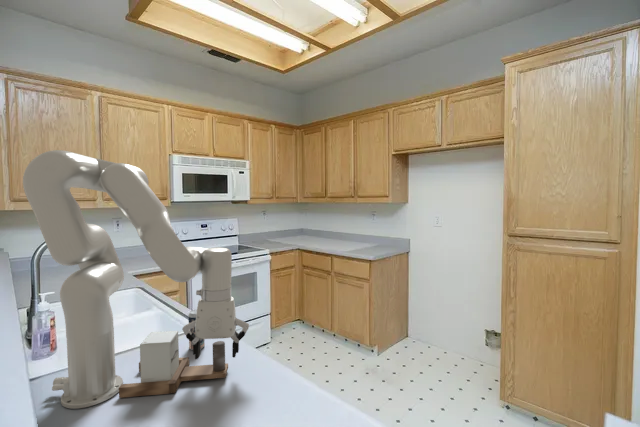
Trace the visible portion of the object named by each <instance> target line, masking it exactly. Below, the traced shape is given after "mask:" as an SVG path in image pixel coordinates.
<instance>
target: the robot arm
mask: <svg viewBox="0 0 640 427" xmlns="http://www.w3.org/2000/svg"><path fill="white" fill-rule="evenodd" d="M149 183H150V182H149V178H148V175H147V174H146V172H145V171H144V170H142V169H141V168H140V167H138V166H135V165H131V164H128V163H123V162H114V161H110V160H109V161H108V160H106V159H105V160H104V159H101V158H96V157H91V156H89V155H88V156H87V155H84V154H82V153H81V154H80V153H77V152H72V151H68V150H64V149H63V150H62V149H61V150H59V149H58V150H57V149H56V150H55V149H54V150H53V149H52V150H48V151H45V152H42V153H40V154H38V155H36V157H34V158H33V159H32V160H31V161H30V162H29V163H28V165H27V166H26V167H25V170H24V172H23V176H22V188H23V191H24V194H25V196H26V199H27V201H28V203H29V206H30V208H31V210H32V212H33V213H34V215H35V216H34V217H35V218H36V222H37V224H38V227H39V229H40V231H41V234H42V236H43V240H44V242H45V245H46V247H47V249H48V251H49V254H50V257H52V259H53V260H54V261H55V262H56V263H57V264H59V265H60V266H61V265H62V266H66V267H67V266H68V267H69V266H77V265H78V267H79V269H78V270H76V271H75V272H73V273H71V274H70V275H69V276H67V278H65V280H64V282H63V283H62V285H61V287H60V292H59V299H60V304H61V308H62V312H63V315H64V321H65V322H64V323H65V324H64V325H65V338H66V355H67V357H66V358H67V374H68V375H67V377H65V376H62V377H61V376H59V377H55V378H54V379H53V382H52V385H53V386H52V387H51V391H54V392H55V391H60V390H61V391H63V393H62V395H61V396H60V404H61V405H62V407H64V408H67V409H72V410H73V409H74V410H76V409H84V408H90V407H93V406H96V405H99V404H101V403H103V402H106V401H107V400H109V399H111V398H112V397H115V395H116V394H119V387H120V386H121V384H124V381H123V380H124V379H123V378H122V377H121V376H120V375H117V374H116V352H115V348H116V347H115V326H114V316H113V315H114V314H113V310H112V307H111V303H110V297H111V296H112V295H114V294H115V293H116V292H117V291H118V290H119V289H120V288H121V287H122V285H123V283H124V280H125V275H124V270H123V266H122V263H121V261H120V258H119V256H118V254H117V250H116V249H115V246H114V244H113V240H112V238H111V236H110V235H109V233H108V232H107V231H106V230H105V228H103V227H101V226H100V225H97V224H94V223H87V222H86V220H85V218H84V215H83V212H82V209H81V207H80V205H79V203H78V201H77V200H76V199H75V197H74V195H73V194H72V193H71V188H76V189H77V188H78V189H86V190H91V191H92V190H93V191H97V192H102V193H106V194H107V195H108V196H109V198H111V201H112V202H114V204H115V205H116V206H117V207H118V208H119V210H120V211H121V212H122V213H123V215H124V216H125V217H126V218H127V219H128V221H129V222H130V223H131V224H132V226H133V227H134V228H135V229H136V231H137V235H138V237H139V239H140V240H141V243H143V244H142V245H143V246H144V248H145V250H146V252H147V253H148V255H149V256H150V258H151V259H152V260H153V261H154V262H155V264H156V265H157V266H158V267H159V269H160V270H161V271H162V272H163V274H165V275H166V277H168V279H170V280H171V281H174V282H176V283H187V282H189V281H191V280H192V279H193V278H195V277H196V276H197V274H198V273H200V274H201V289H196V292H195V294H196V296H200V297H201V298H200V299H199V300H198V301H197V307H196V310H197V313H196V320H195V321H193V322H191V323H189V322H188V323H187V324H185V325H183V327H182V332H183V334H184V335H185V337H186V339H187V340H188V341H189V340H190V341H191V343H192V344H193V350H192V355H194V359H195V360H198V359H199V357H200V355H201V349H200V348H201V341H200V340H199V339H204V340H211V339H212V340H214V339H215V340H216V339H217V340H218V339H230V338H231V340H232V348H231V349H232V350H231V351H232V358H236V355H237V353H239V349H240V348H239V347H240V344H239V342H240V341H241V340H242V339H243V338H244V336H246V333H247V332H248V330H249V328H250V324H249V323H248V322H246V321H244V320H242V319H239V318H237V313H236V304H235V298H234V297H233V296H232V267H233V266H232V262H233V261H232V256H233V255H232V251H231V249H229V248H226V247H219V246H218V247H209V248H206V247H205V248H204V247H198V246H197V247H196V246H185V245H184V243H183V242H182V241H181V239H180V238H179V237H178V235H177V233H176V232H175V230H174V229H173V226H172V223H171V219H170V214H169V211H168V209H167V207H166V206H165V205H164V203H163V202H161V200H160V199H159V197H158V196H157V195H156V194H155V192H154V191H153V190H152V188H151V187H150V186H149ZM237 326H238V327H239V328H242V330H241V331H239V332H238V331H237V330H236V328H237ZM193 327H195V335H194V334H193V333H192V332H191V331H190V329H191V328H193Z"/></svg>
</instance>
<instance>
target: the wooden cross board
mask: <svg viewBox="0 0 640 427" xmlns="http://www.w3.org/2000/svg"><path fill="white" fill-rule="evenodd" d="M228 369H229V363H226V342H225V341H222V340H217V341H215V342H213V343H212V364H203V365H191V366H190V356H187V357H185V356H183V357H179V367H178V368H177V370H176V372H175V374H174V375H173V377H172V379H171V380H168V381H156V382H143V383H141V382H134V383H133V382H131V383H123V384H121V386H120V387H119V392H118V398H119V399H120V398H131V397H132V398H133V397H143V396H144V397H145V396H155V395H167V394H168V395H169V394H176V393H177V391H178V389H179V387H180V385H181V383H182V382H187V381H199V380H209V379H210V380H211V379H222V378H226V377H227V374H228ZM138 372H140V373H141V367H140V361H139V362H138Z"/></svg>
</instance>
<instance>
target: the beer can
mask: <svg viewBox="0 0 640 427" xmlns="http://www.w3.org/2000/svg"><path fill="white" fill-rule="evenodd" d="M196 313H197V309H193V310H191V311H189V313H188V315H187V317H188V324H189V323H191V322H193V321H195V320H196ZM190 331H191V332H192V333H193V334H194V335H195V327H193V328H191V329H190ZM199 340H200V341H201V348H200V350H202V349H203V348H204V347H205V345H206V344H205V339H199ZM188 346H189V347H188V349H190V350H191V351H193V344H192V343H191V341H190V340H188Z"/></svg>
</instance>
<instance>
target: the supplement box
mask: <svg viewBox="0 0 640 427" xmlns="http://www.w3.org/2000/svg"><path fill="white" fill-rule="evenodd" d="M179 346H180V345H179V330H171V331H170V330H169V331H168V330H166V331H154V332H150V333H149V334H148V335H147V337H145V339H143V340H142V341H141V342H140V344H139V362H140V367H141V372H140V383H143V382H156V381H168V380H171V379H172V377H173V375H174V374H175V372H176V370H177V368H178V367H179V358H180V354H179V352H180V351H179V350H180V348H179Z"/></svg>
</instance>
